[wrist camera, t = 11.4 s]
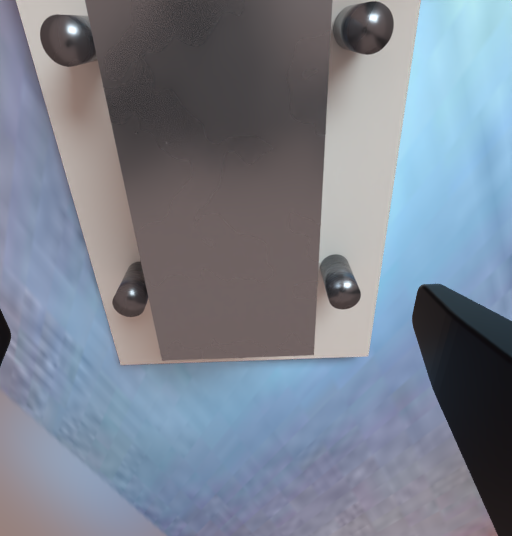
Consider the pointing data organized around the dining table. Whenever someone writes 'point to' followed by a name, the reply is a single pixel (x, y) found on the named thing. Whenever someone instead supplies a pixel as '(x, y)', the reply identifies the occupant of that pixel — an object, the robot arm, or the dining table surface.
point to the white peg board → (334, 176)
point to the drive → (221, 164)
